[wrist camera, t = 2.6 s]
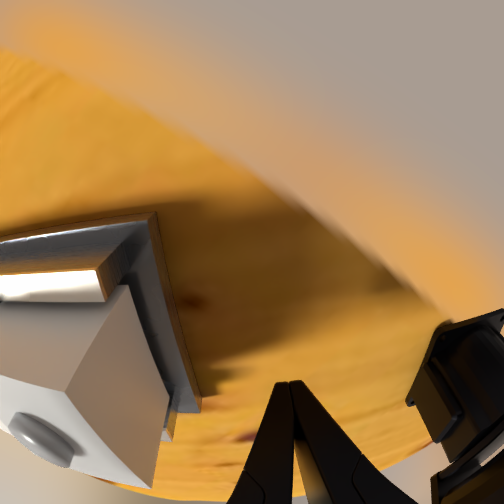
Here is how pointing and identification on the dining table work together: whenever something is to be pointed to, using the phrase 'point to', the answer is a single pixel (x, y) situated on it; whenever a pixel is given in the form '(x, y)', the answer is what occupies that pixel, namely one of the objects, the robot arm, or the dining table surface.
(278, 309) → the dining table surface
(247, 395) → the dining table surface
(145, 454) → the knobbed white cube
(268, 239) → the dining table surface
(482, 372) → the robot arm
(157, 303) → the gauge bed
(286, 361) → the dining table surface
